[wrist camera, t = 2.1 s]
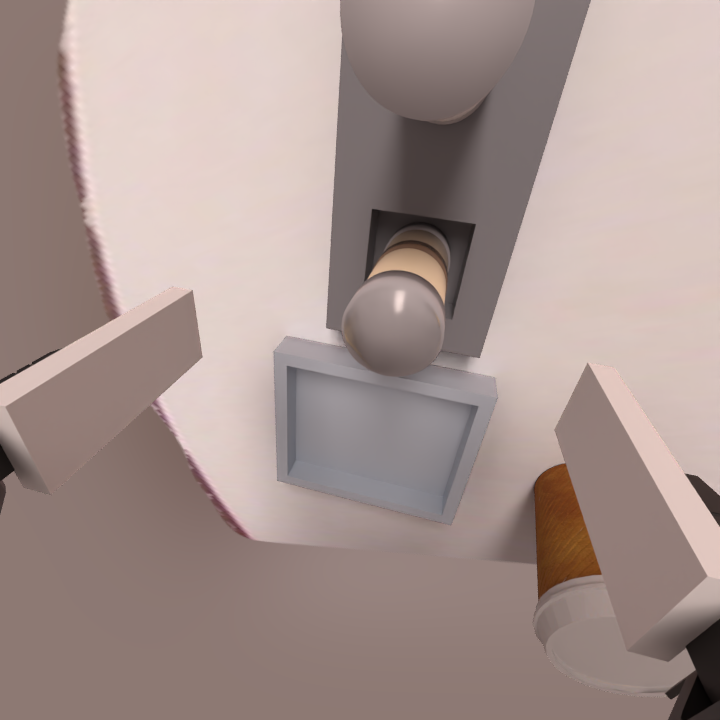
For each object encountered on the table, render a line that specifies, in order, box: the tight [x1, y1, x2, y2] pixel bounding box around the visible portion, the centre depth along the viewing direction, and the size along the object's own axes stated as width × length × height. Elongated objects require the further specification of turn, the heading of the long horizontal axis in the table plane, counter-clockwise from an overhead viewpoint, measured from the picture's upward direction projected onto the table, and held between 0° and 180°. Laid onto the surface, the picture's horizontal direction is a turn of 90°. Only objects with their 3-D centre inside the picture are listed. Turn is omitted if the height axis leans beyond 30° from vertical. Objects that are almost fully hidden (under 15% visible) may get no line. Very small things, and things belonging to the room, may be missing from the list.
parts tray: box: [274, 336, 498, 525], centre depth 32 cm, size 16×14×2 cm
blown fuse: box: [342, 222, 451, 377], centre depth 19 cm, size 4×4×11 cm
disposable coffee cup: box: [533, 464, 696, 697], centre depth 26 cm, size 10×10×12 cm
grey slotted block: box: [326, 0, 591, 358], centre depth 16 cm, size 10×18×14 cm, turn 174°
